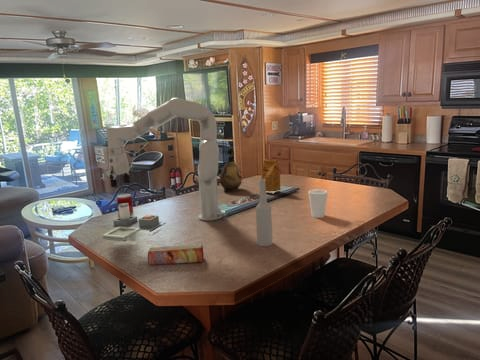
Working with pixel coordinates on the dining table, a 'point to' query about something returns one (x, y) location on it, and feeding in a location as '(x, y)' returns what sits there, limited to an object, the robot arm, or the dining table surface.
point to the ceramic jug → (230, 174)
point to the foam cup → (318, 202)
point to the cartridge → (124, 211)
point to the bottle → (263, 218)
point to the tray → (120, 236)
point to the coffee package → (271, 175)
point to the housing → (138, 222)
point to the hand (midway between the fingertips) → (120, 184)
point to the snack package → (176, 254)
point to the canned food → (125, 200)
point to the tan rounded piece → (148, 217)
